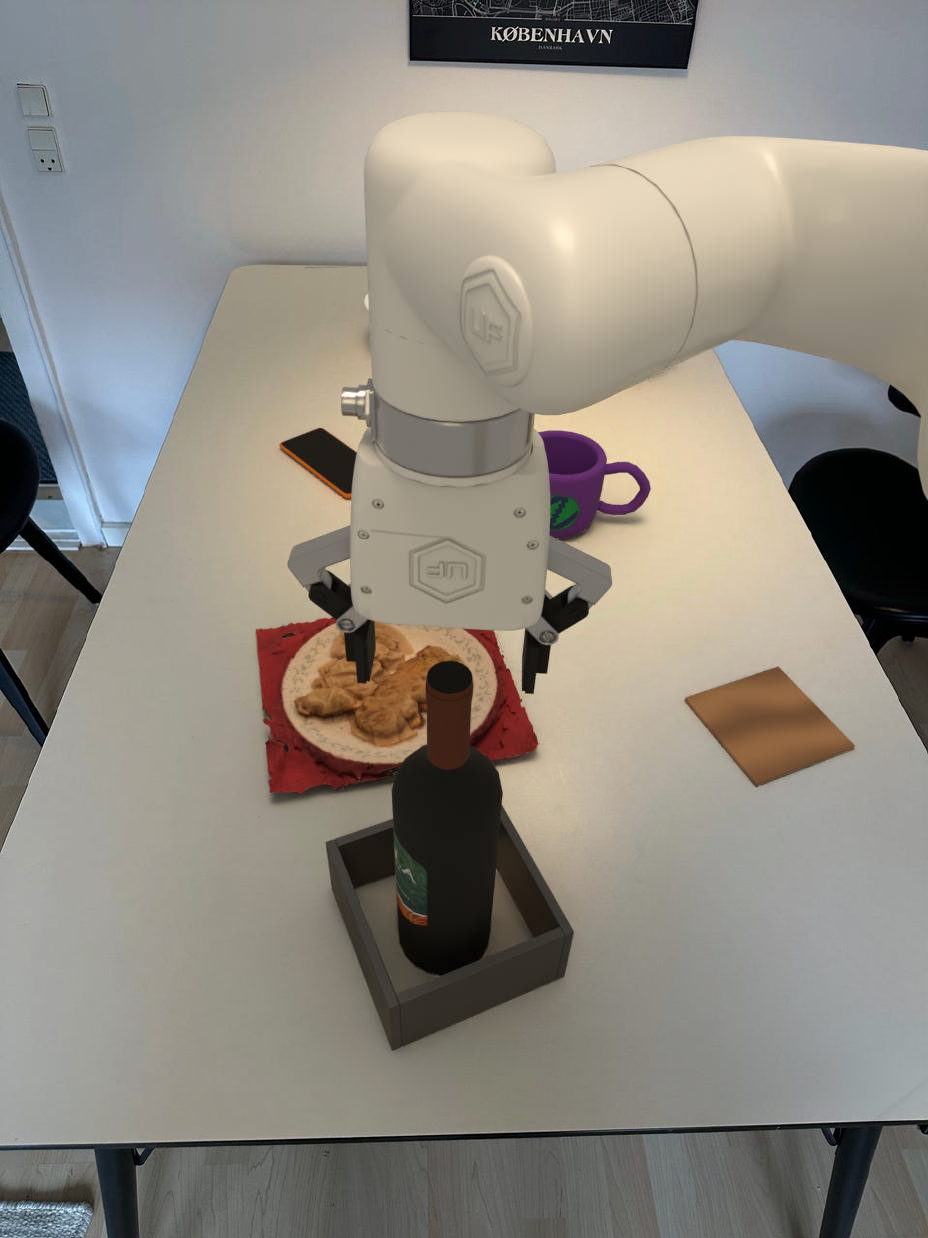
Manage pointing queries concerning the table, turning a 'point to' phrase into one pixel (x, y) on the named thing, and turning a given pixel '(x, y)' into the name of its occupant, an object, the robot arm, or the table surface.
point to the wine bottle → (446, 832)
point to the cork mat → (768, 725)
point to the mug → (583, 482)
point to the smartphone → (324, 458)
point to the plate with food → (375, 701)
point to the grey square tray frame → (470, 985)
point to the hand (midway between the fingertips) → (447, 671)
